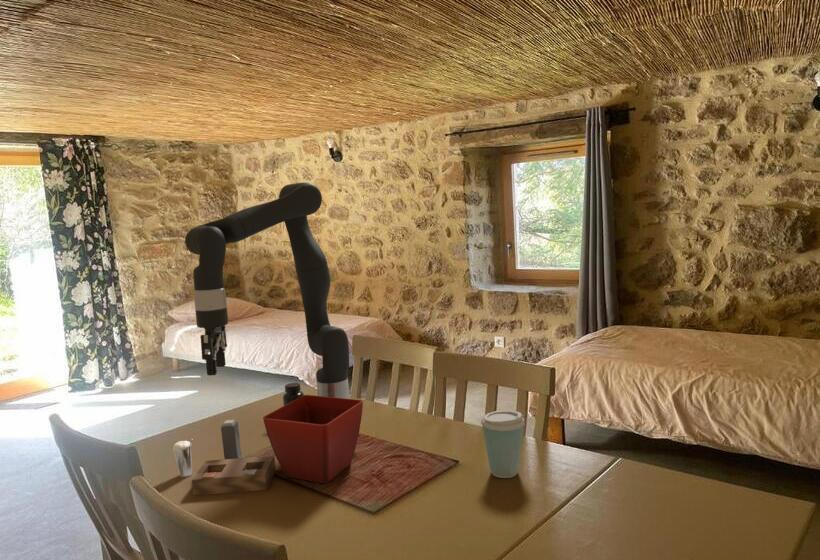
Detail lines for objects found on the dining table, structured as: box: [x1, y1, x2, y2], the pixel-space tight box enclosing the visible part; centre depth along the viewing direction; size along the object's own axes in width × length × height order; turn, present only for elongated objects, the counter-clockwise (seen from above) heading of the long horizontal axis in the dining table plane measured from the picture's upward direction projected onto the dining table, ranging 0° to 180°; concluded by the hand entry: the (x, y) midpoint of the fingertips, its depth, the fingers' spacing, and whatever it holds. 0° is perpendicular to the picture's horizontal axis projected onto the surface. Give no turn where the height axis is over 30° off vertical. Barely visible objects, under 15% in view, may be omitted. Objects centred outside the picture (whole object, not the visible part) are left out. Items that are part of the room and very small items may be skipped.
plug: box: [220, 419, 243, 460], centre depth 167 cm, size 4×4×12 cm
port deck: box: [191, 455, 277, 496], centre depth 155 cm, size 18×11×4 cm, turn 91°
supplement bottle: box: [282, 382, 305, 406], centre depth 196 cm, size 7×7×12 cm
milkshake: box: [172, 438, 193, 478], centre depth 161 cm, size 4×5×10 cm
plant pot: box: [262, 394, 364, 484], centre depth 157 cm, size 19×19×17 cm
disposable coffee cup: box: [480, 409, 526, 479], centre depth 149 cm, size 11×11×15 cm
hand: (216, 370), depth 153 cm, fingers open, 8 cm apart
